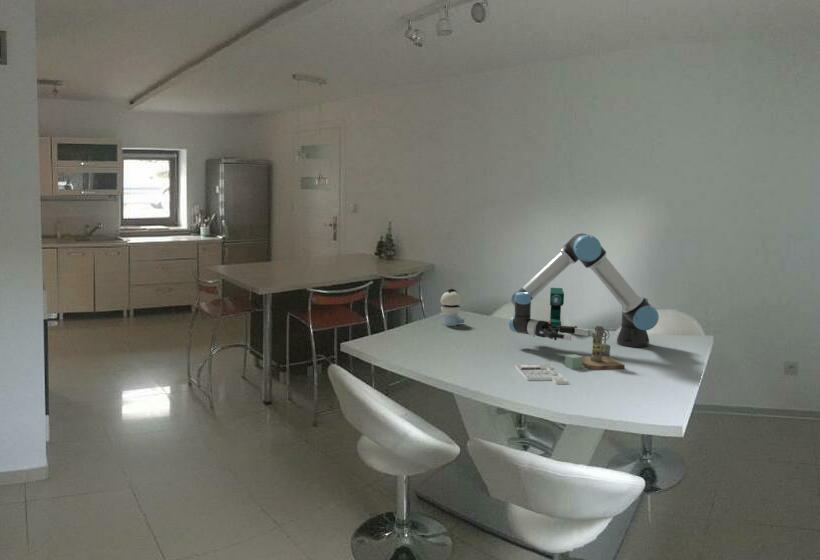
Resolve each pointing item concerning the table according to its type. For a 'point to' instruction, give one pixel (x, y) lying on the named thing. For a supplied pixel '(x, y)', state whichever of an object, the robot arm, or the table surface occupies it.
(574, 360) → the green block
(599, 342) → the grenade
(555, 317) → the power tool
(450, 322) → the toy
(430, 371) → the table surface
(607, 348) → the grey rounded block
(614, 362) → the walnut board
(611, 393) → the table surface
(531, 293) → the robot arm
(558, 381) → the floor plan model
